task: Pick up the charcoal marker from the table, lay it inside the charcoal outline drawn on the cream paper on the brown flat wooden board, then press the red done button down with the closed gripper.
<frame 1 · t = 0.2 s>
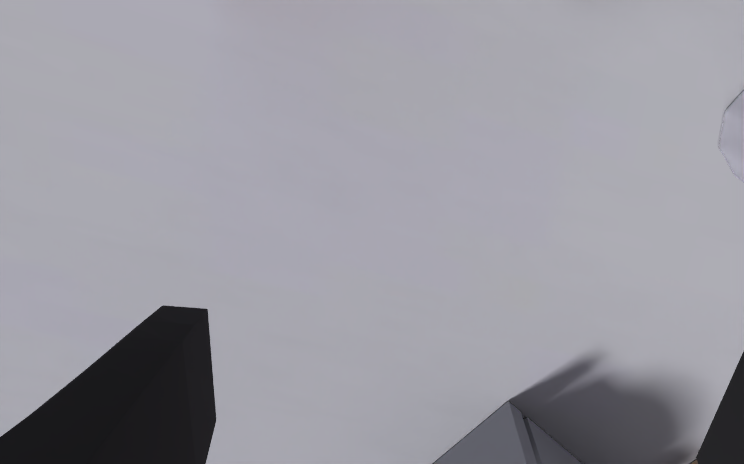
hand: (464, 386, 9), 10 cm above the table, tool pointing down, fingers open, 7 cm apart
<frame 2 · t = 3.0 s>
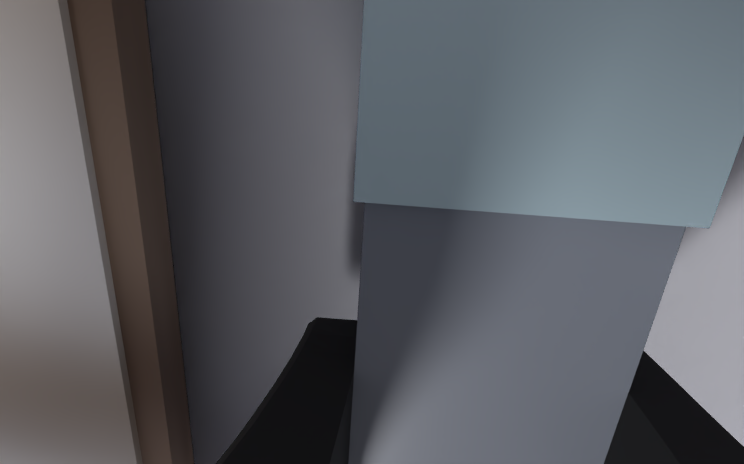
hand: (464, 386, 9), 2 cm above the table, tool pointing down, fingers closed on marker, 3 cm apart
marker: (455, 315, 10), on the table, touching gripper
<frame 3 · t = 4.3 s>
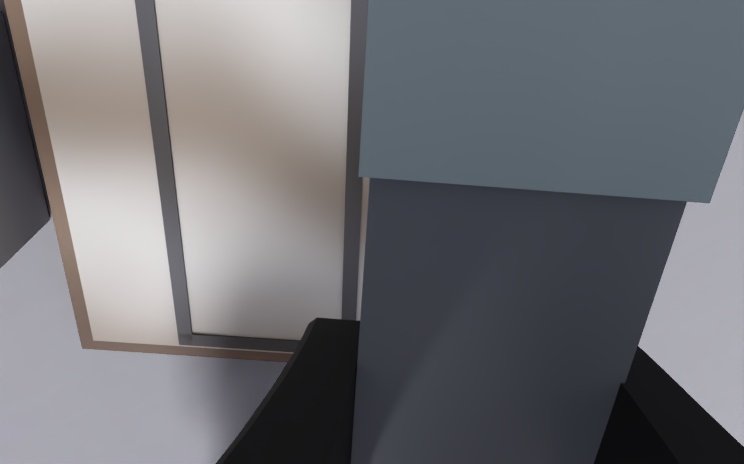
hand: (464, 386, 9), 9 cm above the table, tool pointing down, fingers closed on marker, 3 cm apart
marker: (457, 300, 10), point 7 cm above the table, touching gripper
brown flat wooden board: (268, 138, 16), on the table
when the fingers open (4 cm above the table, at t = 5.8 s): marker stays where it is, resting on brown flat wooden board.
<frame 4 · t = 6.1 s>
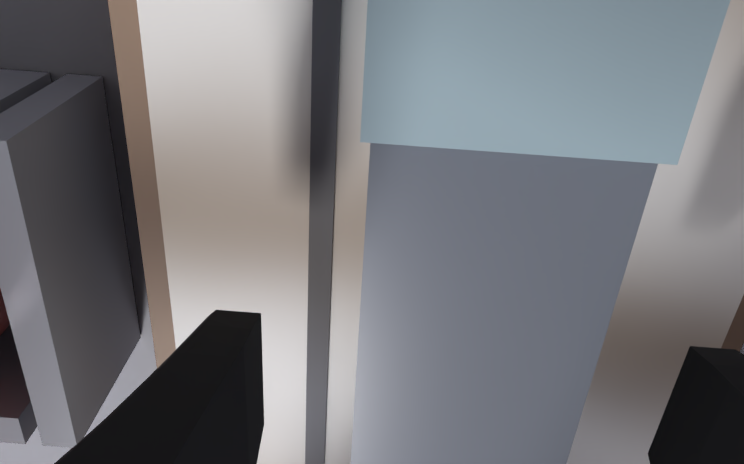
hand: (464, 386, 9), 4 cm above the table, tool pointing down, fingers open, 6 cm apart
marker: (453, 270, 11), point 1 cm above the table, touching brown flat wooden board
brown flat wooden board: (447, 246, 12), on the table
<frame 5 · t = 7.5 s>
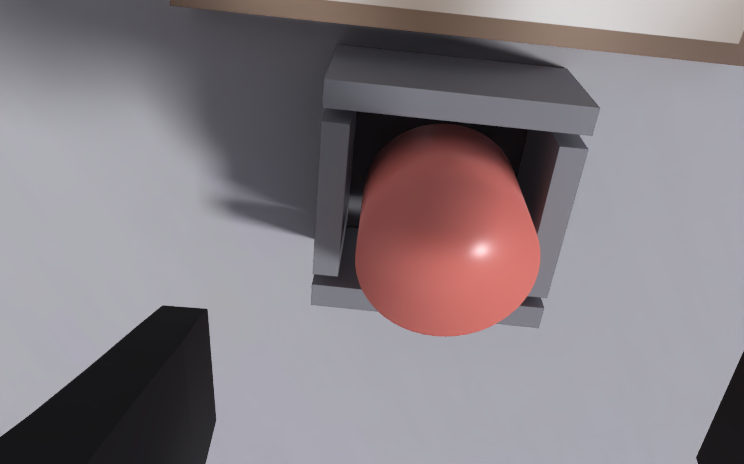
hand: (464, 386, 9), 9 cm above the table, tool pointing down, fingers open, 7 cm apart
done button: (442, 226, 14), point 4 cm above the table, slide at 0.0 cm
button housing: (435, 162, 17), on the table
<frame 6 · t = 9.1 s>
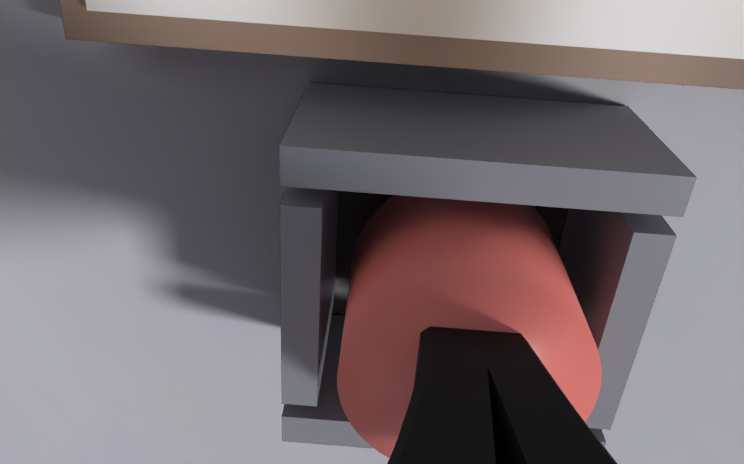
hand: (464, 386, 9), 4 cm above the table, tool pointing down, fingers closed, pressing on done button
done button: (459, 320, 10), point 3 cm above the table, slide at 0.7 cm, touching gripper
button housing: (448, 233, 13), on the table
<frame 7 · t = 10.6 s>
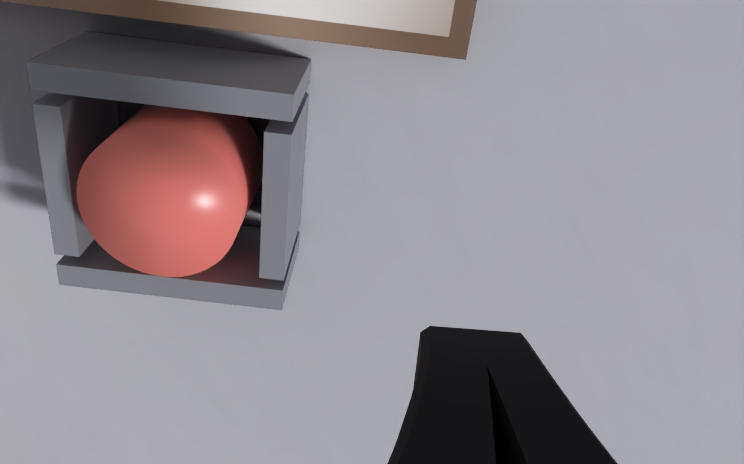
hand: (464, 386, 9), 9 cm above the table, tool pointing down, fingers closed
done button: (178, 181, 15), point 2 cm above the table, slide at 1.4 cm
button housing: (201, 149, 17), on the table
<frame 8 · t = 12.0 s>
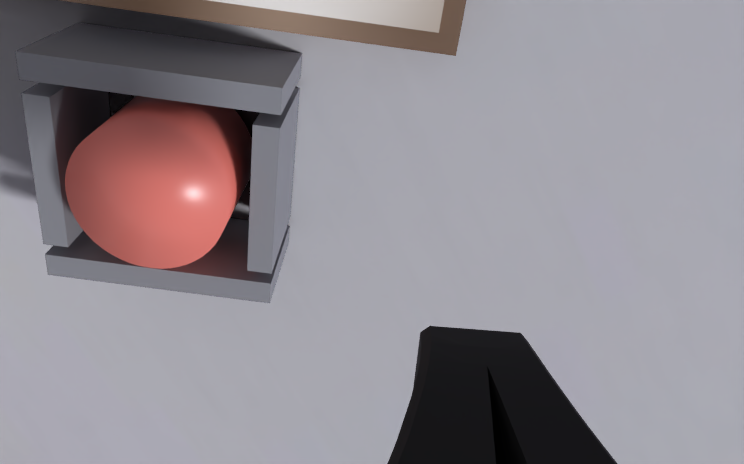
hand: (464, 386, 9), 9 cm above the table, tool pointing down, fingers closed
done button: (167, 173, 16), point 2 cm above the table, slide at 1.4 cm
button housing: (192, 142, 17), on the table
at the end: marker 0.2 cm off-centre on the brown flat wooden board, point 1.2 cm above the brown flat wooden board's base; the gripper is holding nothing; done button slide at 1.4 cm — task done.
